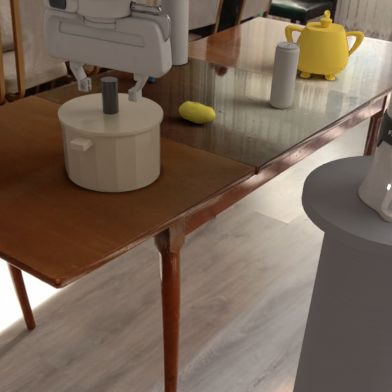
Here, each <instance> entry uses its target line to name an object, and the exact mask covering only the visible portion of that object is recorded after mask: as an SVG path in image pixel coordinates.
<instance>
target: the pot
mask: <svg viewBox="0 0 392 392" xmlns="http://www.w3.org/2000/svg"><path fill="white" fill-rule="evenodd" d="M60 126H61V127H60V128H61V136H62V145H63V154H64V164H65V170H66V174H67V177H68V178H69V180H70V181H71V182H73V183H74V184H75V185H77V186H79V187H81V188H84V189H87V190H90V191H94V192H102V193H124V192H130V191H131V192H132V191H135V190H139V189H142V188H145V187H147V186H149V185H151V184H153V183H154V182H156V180H157V179H158V178H159V176H160V174H161V169H162V168H161V167H162V122H161V123H160V124H159V125H157V126H156V127H154V128H153V129H151V130H148V131H145V132H142V133H139V134H134V135H128V136H116V137H104V136H93V135H87V134H82V133H79V132H76V131H73V130H70V129H68V128H67V127H65V126H64V125H62V124H61V123H60Z"/></svg>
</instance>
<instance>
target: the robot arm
mask: <svg viewBox="0 0 392 392" xmlns="http://www.w3.org/2000/svg"><path fill="white" fill-rule="evenodd" d="M43 5H44V7H46V10H45V12H44V14H43V19H42V20H43V21H42V22H43V23H42V24H43V39H44V47H45V51H46V52H47V53H48V55H49V56H50V58H55V59H59V60H63V61H69V69H70V70H71V72H72V74H73V76H74V78H75V80H76V81H77V90H78V91H80V92H84V93H89V92H90V91H92V87H93V85H92V78H91V77H87V74H86V72H85V70H84V68H83V66H85V65H89V66H95V67H99V68H104V69H110V70H113V71H114V70H115V71H120V72H125V73H129V74H130V73H131V74H133V81H136V82H135V85H134V86H132V87H131V88H129V89H127V94H128V95H129V97H128V100H129V101H131V102H136V103H138V102H140V101H141V99H142V97H143V92H142V91H143V88H144V87H145V85H146V83H147V81H148V80H149V76H150V77H155V79H156V78H157V79H159V78H161V77H163V76H164V75H166V74H168V72H169V71H170V70H171V68H172V66H173V65H172V56H171V44H170V31H171V22H170V18H169V16H168V15H167V13H166V12H164V11H163V10H162V8H161V6H159V5H150V4H145V3H142V2H137V1H136V0H43ZM161 13H162V14H163V15H161ZM373 156H374V157H373V160H372V162H371V165H370V167H369V169H368V172H367V174H366V176H365V178H364V180H363V181H362V183H361V185H360V186H359V188H358V195H359V197H360V198H361V200H362V201H363V202H364V203H365V204H367V205H368V206H369V207H371V208H373V209H374V210H376V211H377V212H378V213H379V214H380V216H381V217H382V218H383V219H384V220H385V221H387V222H391V223H392V91H391V93H390V96H389V101H388V105H387V108H385V110H384V112H383V114H382V116H381V119H380V123H379V127H378V131H377V136H376V149H375V152H374V154H373Z"/></svg>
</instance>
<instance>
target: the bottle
mask: <svg viewBox="0 0 392 392" xmlns="http://www.w3.org/2000/svg"><path fill="white" fill-rule="evenodd" d="M189 5H190V0H160V7H161V8H162V10H163V11H164V12H166V13H167V15H168V16H169V18H170V22H171V31H170V44H171V56H172V66H181V65H185V64H188V61H189V60H188V58H189V17H190V16H189V14H190V13H189V7H190V6H189ZM160 15H163V14H162V13H161V14H160Z"/></svg>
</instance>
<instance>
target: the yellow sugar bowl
mask: <svg viewBox="0 0 392 392" xmlns="http://www.w3.org/2000/svg"><path fill="white" fill-rule="evenodd" d="M330 17H331V11H330V10H329V9H327V10H325V11H324V12H323V17H321V18H320V20H319V21H310V22H308V23H306V25H305V26H304V27H301V26H297V25H294V24H288V25H286V26H285V28H284V37H285V39H286V41H289V42H294V40H293V32H299V33H300V34H299V36H298V38H297V40H296V42H295V43H297V44H299V45H300V47H299V49H300V52H299V59H298V66H297V71H298V70H299V72H301V73H300V74H299V76H300V77H301V78H304V79H309V78H311V76H312V74H315V75H324V79H325V80H326V81H335V80H336V78H335V75H339V74H341V73H342V72H343V71H344V69H345V68H346V67H347V65H348V63H349V57H351V55H353V54H354V52H356V50H358V48H359V47H360V46H361V45H362V43H363V41H364V39H365V33H364V32H363V31H359V30H352V31H346V30H345V27H344V25H342V24H339V23H334V22H333V19H332V18H330ZM348 37H354V38H355V40H354V43H353V45H352V46H351V48H350V49H349V41H348Z"/></svg>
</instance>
